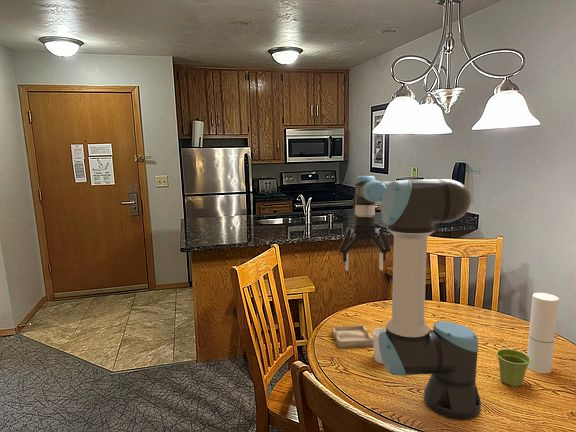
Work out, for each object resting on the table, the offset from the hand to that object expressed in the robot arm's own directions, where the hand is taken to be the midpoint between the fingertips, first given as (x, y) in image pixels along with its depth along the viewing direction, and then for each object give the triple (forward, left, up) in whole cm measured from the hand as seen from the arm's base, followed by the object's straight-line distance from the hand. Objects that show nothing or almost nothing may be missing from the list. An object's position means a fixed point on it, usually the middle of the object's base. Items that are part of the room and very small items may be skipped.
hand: (363, 269), depth 156 cm
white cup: (-22, -1, -26) cm, 34 cm away
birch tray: (-6, +6, -26) cm, 27 cm away
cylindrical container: (-34, -50, -26) cm, 66 cm away
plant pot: (-40, -36, -26) cm, 60 cm away
